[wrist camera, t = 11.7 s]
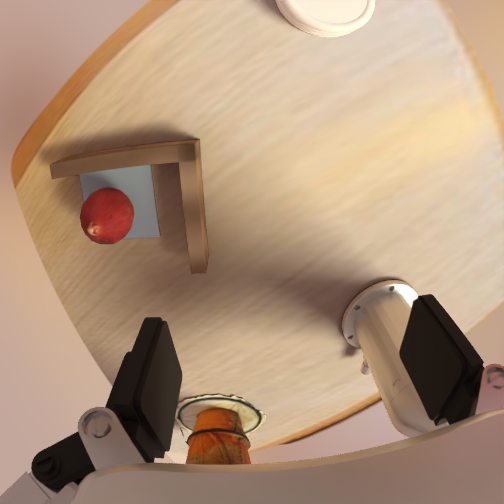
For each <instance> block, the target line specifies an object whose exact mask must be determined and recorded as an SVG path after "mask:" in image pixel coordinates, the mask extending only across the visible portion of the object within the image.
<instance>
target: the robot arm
mask: <svg viewBox="0 0 504 504" xmlns="http://www.w3.org/2000/svg"><path fill="white" fill-rule="evenodd" d="M342 331H343V334H344V336H345V339H346V340H347V342H348V343H350V344H351V345H352V346H354V347H356V348H359V349H362V352H363V354H364V355H363V358H364V361H363V364H362V367H361V372H362V373H363V374H366V375H368V374H370V373H372V375H373V378H374V380H375V383H376V385H377V387H378V390H379V392H380V395H381V397H382V400H383V402H384V405H385V408H386V410H387V413H388V415H389V418H390V420H391V422H392V424H393V425H394V427H395V428H396V429H397V430H398V431H399V432H400V433H401V434H403V435H405V436H407V437H410V438H408V439H405V440H401V441H398V442H394V443H390V444H386V445H382V446H378V447H374V448H369V449H365V450H360V451H355V452H351V453H345V454H340V455H334V456H328V457H321V458H314V459H307V460H299V461H289V462H278V463H264V464H242V465H196V464H172V463H168V464H167V463H154V458H164V454H165V451H169V450H170V445H171V439H172V433H173V427H174V421H175V415H176V409H177V404H178V398H179V393H180V387H181V382H182V370H181V367H180V364H179V361H178V357H177V354H176V351H175V348H174V344H173V341H172V338H171V334H170V331H169V327H168V324H167V322H166V321H162V319H161V318H160V317H146V318H145V319H144V321H143V324H142V326H141V329H140V331H139V334H138V336H137V339H136V341H135V344H134V346H133V349H132V351H131V352H127V353H126V355H125V356H124V359H123V362H122V364H121V367H120V369H119V372H118V374H117V377H116V380H115V382H114V385H113V388H112V390H111V393H110V396H109V398H108V401H107V404H106V407H105V408H104V407H95V408H92V409H90V410H88V411H86V412H85V413H84V414H83V415H82V416H81V418H80V420H79V422H78V432H76V433H74V434H73V435H71V436H69V437H67V438H65V439H63V440H61V441H59V442H58V443H56V444H54V445H52V446H50V447H48V448H46V449H44V450H42V451H41V452H39V453H38V454H37V455H36V456H35V457H34V459H33V462H32V467H31V469H32V471H31V472H30V473H27V472H25V473H24V474H23V475H22V476H21V477H20V478H19V479H18V480H17V481H16V482H15V483H14V484H13V485H12V486H11V487H10V488H8V489H7V490H6V491H5V492H4V493H3V494H2V495H1V496H0V504H504V366H502V365H499V364H490V365H488V366H486V368H484V367H483V363H484V362H483V360H482V359H481V357H480V356H479V354H478V353H477V352H476V350H475V349H474V348H473V346H472V345H471V343H470V342H469V341H468V340H467V338H466V337H465V335H464V334H463V333H462V331H461V330H460V329H459V327H458V326H457V325H456V323H455V322H454V321H453V320H452V318H451V317H450V316H449V314H448V313H447V312H446V311H445V309H444V308H443V307H442V306H441V304H440V303H439V302H438V301H437V300H436V298H435V297H434V296H433V295H432V294H429V295H422V296H418V295H417V293H416V291H415V290H414V289H413V288H412V286H410V285H409V284H408V283H406V282H403V281H399V280H388V281H383V282H380V283H377V284H374V285H372V286H370V287H369V288H367V289H365V290H364V291H363V292H361V293H360V294H359V295H358V296H357V297H356V298H355V299H354V300H353V301H352V302H351V303H350V305H349V306H348V307H347V309H346V311H345V313H344V316H343V319H342Z"/></svg>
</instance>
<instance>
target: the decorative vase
mask: <svg viewBox="0 0 504 504" xmlns="http://www.w3.org/2000/svg"><path fill="white" fill-rule="evenodd" d="M177 405H178V406H179V408H177V409H176V415H175V418H176V419H177V420H176V421H177V422H179V425H180V426H181V427H183V428H185V429H186V430H187V431H188V432H191V433H192V434H191V435H190V436H189V437H188V439H187V442H186V441H185V442H186V443H187V444H188V445H189V450H188V456H187V460H186V464H196V465H242V464H251V462H250V457H249V454H248V451H247V450H248V449H249V448H250V441H249V440H248V438H247V436H246V435H250V434H251V432H252V431H255V430H257V429H258V427H260V426H262V423H263V422H264V421H265V420H266V416H267V415H263V412H262V411H256V410H255V408H254V407H253V406H252V405H250V404H249V403H247V402H245V400H244V399H240V398H236V396H232V397H225V396H222V395H220V394H219V395H213V396H210V395H205V396H203V397H199V396H198V398H192V399H186V400H184V402H180V403H179V404H177ZM181 427H180V429H181ZM181 432H182V430H181ZM182 434H183V432H182ZM183 436H184V435H183Z"/></svg>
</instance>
